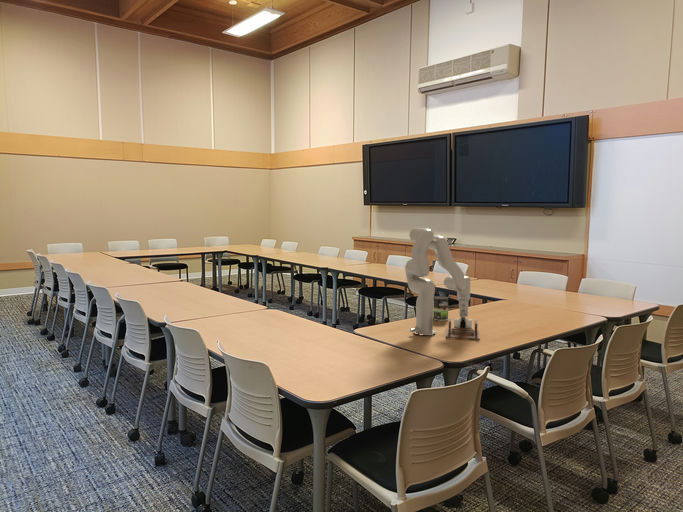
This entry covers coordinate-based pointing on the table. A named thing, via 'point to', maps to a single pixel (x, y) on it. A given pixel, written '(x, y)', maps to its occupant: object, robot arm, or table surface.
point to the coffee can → (440, 308)
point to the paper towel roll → (457, 323)
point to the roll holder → (463, 333)
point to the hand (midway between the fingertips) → (462, 326)
